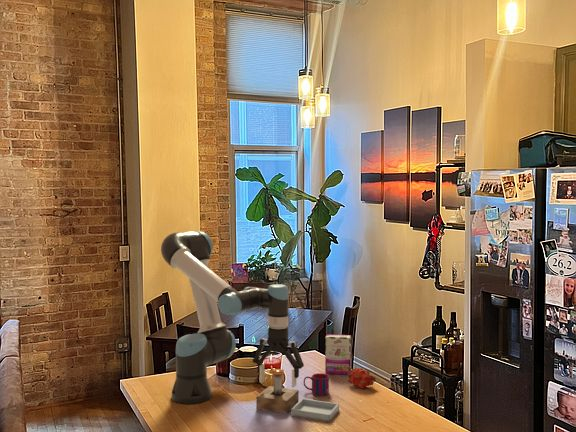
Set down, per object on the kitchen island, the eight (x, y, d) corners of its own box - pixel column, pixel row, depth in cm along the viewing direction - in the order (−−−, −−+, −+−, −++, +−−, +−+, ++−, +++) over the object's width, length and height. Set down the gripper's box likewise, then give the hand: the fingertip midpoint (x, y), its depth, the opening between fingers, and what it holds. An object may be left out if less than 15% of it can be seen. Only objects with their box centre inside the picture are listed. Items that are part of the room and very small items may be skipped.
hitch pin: (270, 406, 213) (270, 371, 213) (274, 402, 217) (274, 368, 217) (281, 408, 212) (281, 373, 211) (285, 403, 216) (285, 369, 215)
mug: (327, 396, 224) (327, 379, 223) (302, 394, 226) (302, 377, 226) (330, 390, 230) (330, 374, 230) (305, 388, 232) (305, 372, 232)
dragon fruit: (345, 388, 238) (373, 396, 234) (342, 381, 231) (371, 390, 227) (351, 368, 242) (379, 376, 238) (348, 361, 235) (377, 369, 231)
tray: (291, 415, 204) (291, 409, 204) (302, 404, 215) (302, 398, 215) (329, 422, 199) (329, 414, 199) (338, 410, 210) (338, 403, 210)
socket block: (256, 408, 211) (256, 396, 211) (269, 397, 222) (269, 385, 222) (286, 413, 207) (286, 400, 207) (298, 401, 218) (298, 390, 218)
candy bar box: (351, 371, 254) (351, 335, 254) (350, 375, 249) (351, 337, 249) (326, 370, 256) (326, 333, 255) (324, 373, 251) (325, 336, 250)
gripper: (243, 325, 214) (243, 382, 215) (305, 332, 205) (305, 391, 206) (252, 321, 221) (252, 376, 222) (312, 327, 212) (312, 385, 213)
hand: (277, 384), depth 214 cm, fingers open, 12 cm apart
